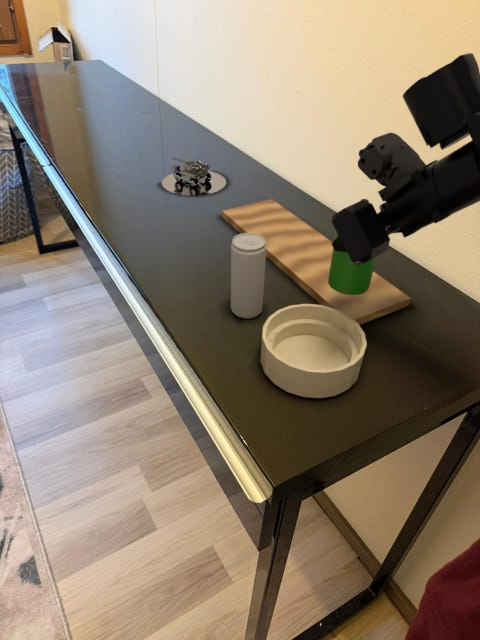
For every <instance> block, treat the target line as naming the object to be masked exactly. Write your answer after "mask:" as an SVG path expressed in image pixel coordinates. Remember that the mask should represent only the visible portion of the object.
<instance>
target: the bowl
mask: <svg viewBox="0 0 480 640" xmlns="http://www.w3.org/2000/svg"><path fill="white" fill-rule="evenodd" d="M367 346H368V343H367V338H366V333H365V332H364V330H363V328H362V327H361V326H360V325H359V324H358V323H357V322H356V321H354V320H353V319H352V318H351V317H350V316H348V315H347V314H345V313H343V312H341V311H339V310H336V309H334V308H331V307H327V306H323V305H321V304H318V303H317V304H315V303H313V304H312V303H300V304H292V305H288V306H286V307H282V308H280V309H278V310H276V311H274V312H273V313H272V314H271V315H270V316H268V317H267V319H266V321H265V322H264V323H263V326H262V334H261V346H260V347H261V349H260V364H261V367H262V370H263V372H264V374H265V375H266V377H267V378H268V379H269V380H270V382H272V384H274V385H275V386H277V387H278V388H280V389H282V390H283V391H285V392H287V393H289V394H292V395H294V396H298V397H301V398H311V399H324V398H330V397H336V396H338V395H340V394H342V393H344V392H346V391H348V390H350V388H351V387H352V386H353V385H354V384H355V383H356V382H357V381H358V378H359V375H360V372H361V368H362V365H363V361H364V357H365V353H366V350H367Z"/></svg>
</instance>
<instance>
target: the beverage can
mask: <svg viewBox="0 0 480 640" xmlns="http://www.w3.org/2000/svg"><path fill="white" fill-rule="evenodd" d="M266 258H267V257H266V241H265V239H264V238H263V237H262V236H261V235H258V234H254V233H242V234H240V233H239V234H236V235H234V237H232V240H231V245H230V310H231V312H232V314H234V315H235V316H236V317H238V318H240V319H246V320H250V319H254V318H256V317H258V316H259V315H260V314H261V313H262V312H263V306H264V292H265V291H264V290H265V276H266V262H267V261H266V260H267V259H266Z"/></svg>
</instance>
